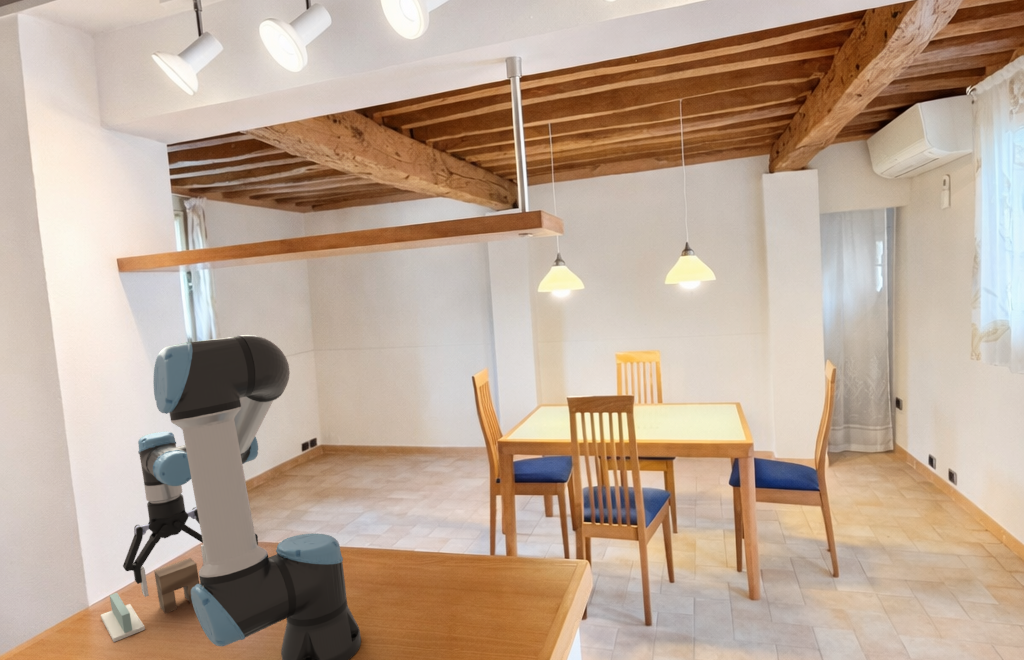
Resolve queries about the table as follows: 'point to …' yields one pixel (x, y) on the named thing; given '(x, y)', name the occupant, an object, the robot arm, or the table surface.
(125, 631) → the inverted t-shaped bar
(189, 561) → the brown notched block
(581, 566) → the table surface
